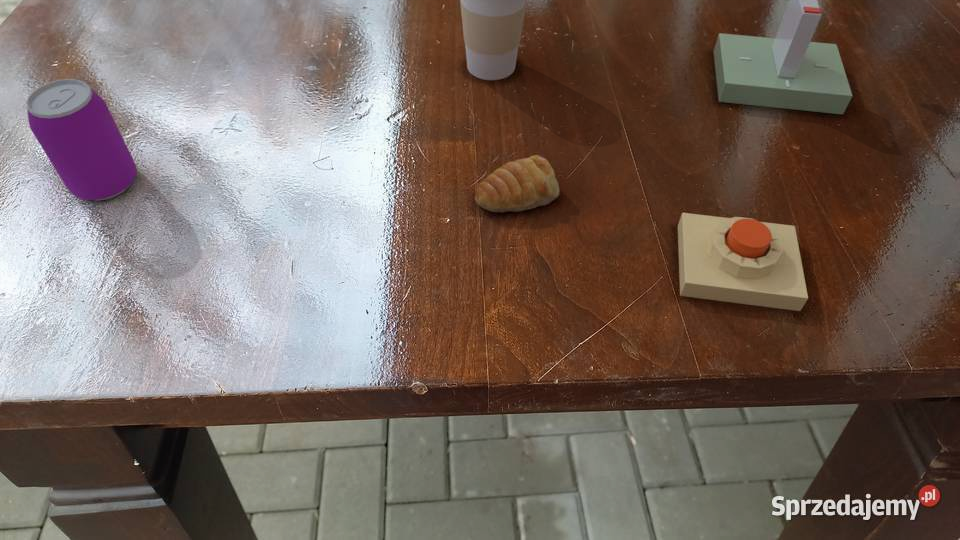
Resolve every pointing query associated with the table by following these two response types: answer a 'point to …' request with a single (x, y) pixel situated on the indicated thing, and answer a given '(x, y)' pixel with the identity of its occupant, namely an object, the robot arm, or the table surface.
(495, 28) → the coffee cup
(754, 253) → the button
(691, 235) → the button box
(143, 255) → the table surface
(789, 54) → the switch lever
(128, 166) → the beverage can
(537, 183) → the pastry
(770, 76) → the panel
